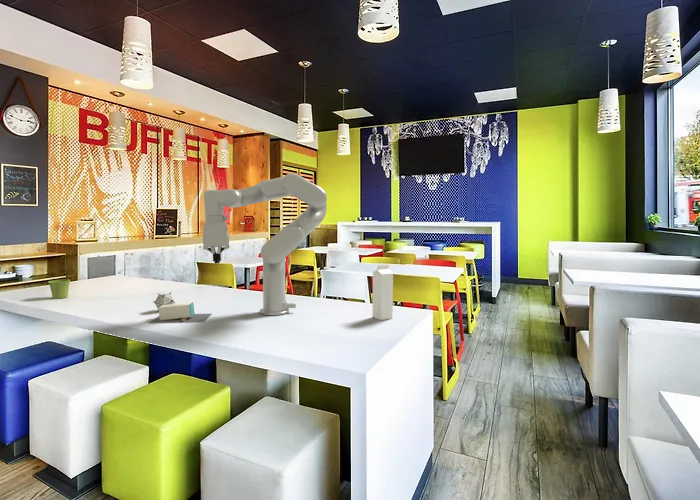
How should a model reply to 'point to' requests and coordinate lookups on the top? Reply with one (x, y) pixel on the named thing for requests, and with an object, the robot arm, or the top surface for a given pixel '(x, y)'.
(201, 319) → the mat
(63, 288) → the plant pot
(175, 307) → the cream block
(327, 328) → the top surface
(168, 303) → the game die
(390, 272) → the milk
